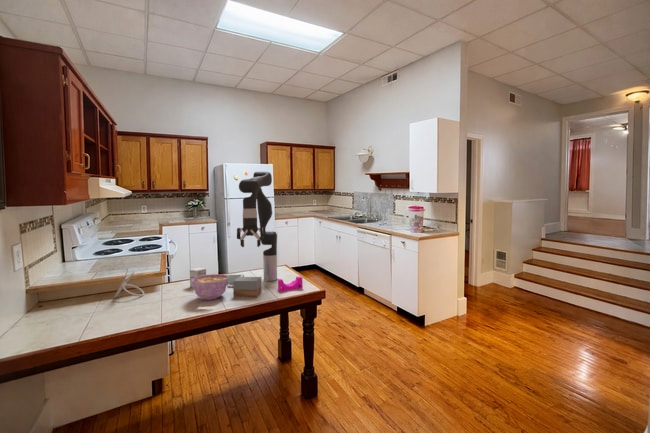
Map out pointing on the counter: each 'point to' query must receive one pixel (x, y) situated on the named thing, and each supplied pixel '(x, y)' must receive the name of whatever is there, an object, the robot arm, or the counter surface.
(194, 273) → the supplement box
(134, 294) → the wire frame
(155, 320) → the counter surface
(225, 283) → the bowl of food
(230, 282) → the right angle wall
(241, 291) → the tower bottom
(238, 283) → the tower top
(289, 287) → the toy block
